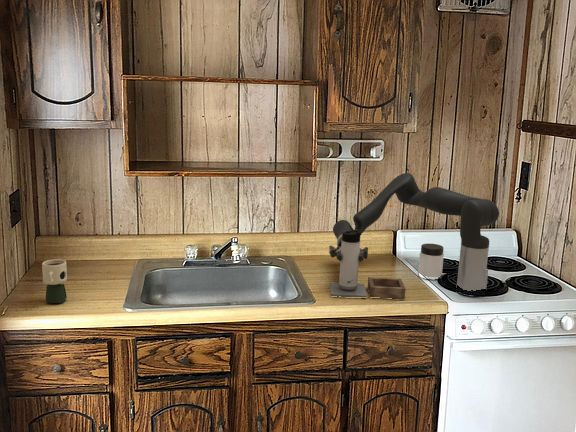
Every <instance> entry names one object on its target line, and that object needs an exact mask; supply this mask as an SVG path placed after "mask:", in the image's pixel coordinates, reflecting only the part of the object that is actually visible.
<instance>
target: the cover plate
mask: <svg viewBox="0 0 576 432" xmlns="http://www.w3.org/2000/svg"><path fill="white" fill-rule="evenodd" d="M329 289H330V290H329V291H330V292H331V294H330V297H331V296H337V297H339V296H341V297H367V298H368V295H367V290H366V286H365V284H364V283H357V288H356V289H353V290H345V289H342V288H340V287H339V282H329Z"/></svg>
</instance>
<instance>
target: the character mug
mask: <svg viewBox="0 0 576 432" xmlns="http://www.w3.org/2000/svg"><path fill="white" fill-rule="evenodd" d="M67 267H68V266H67V260H64V259H60V258H56V259H48V260H44V261H43V262H42V263H41V268H42V269H41V271H42V283H43V284H45V285H46V288H45V302H46V303H50V304H51V303H53V304H61V303H65V302H66V301H67V299H68V296H67V290H66V287H65V284H64V283H66V282H67V281H68V272H67V271H68V268H67Z"/></svg>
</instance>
